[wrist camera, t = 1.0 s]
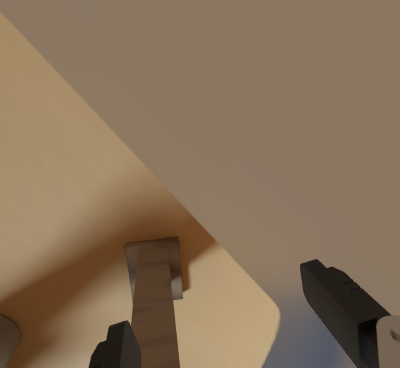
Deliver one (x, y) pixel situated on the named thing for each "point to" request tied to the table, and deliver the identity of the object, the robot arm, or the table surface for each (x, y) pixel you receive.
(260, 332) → the table surface
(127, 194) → the table surface
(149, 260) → the walnut stand
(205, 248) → the table surface
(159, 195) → the table surface
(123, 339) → the robot arm
